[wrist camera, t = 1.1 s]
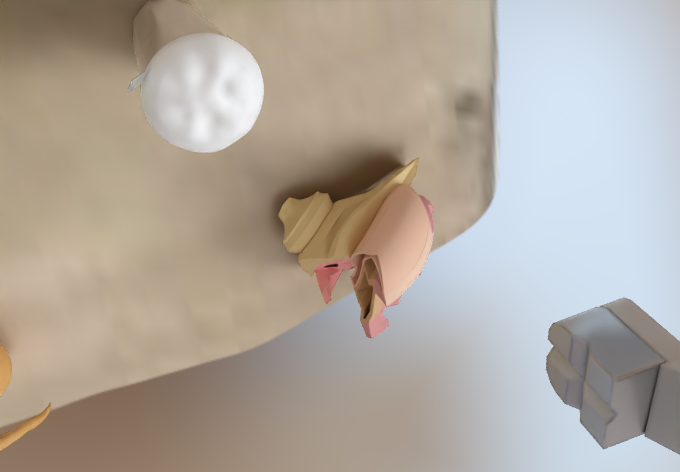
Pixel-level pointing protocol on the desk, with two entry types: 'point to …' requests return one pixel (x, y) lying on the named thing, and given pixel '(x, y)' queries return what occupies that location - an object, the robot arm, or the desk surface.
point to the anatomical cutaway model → (364, 241)
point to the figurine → (3, 370)
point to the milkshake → (193, 78)
